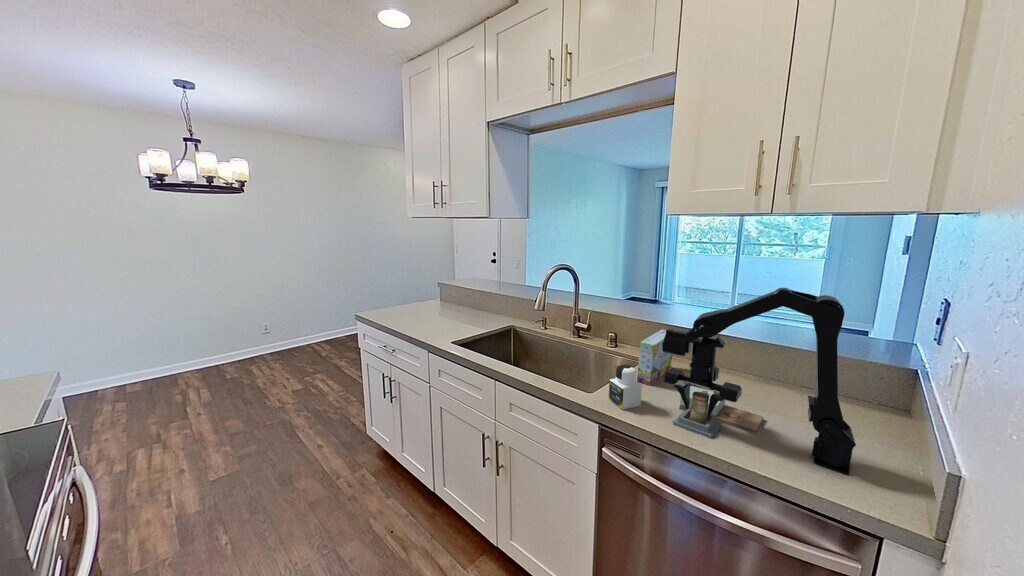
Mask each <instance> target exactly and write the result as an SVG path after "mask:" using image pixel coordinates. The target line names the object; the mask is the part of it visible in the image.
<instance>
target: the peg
mask: <svg viewBox="0 0 1024 576" xmlns="http://www.w3.org/2000/svg"><path fill="white" fill-rule="evenodd" d="M708 401H709V395H707V394H706V393H703V392H693V396H692V405H691V413H690V420H691V421H694V422H697V423H700V424H703V425H705V422H706V415H707V408H708Z"/></svg>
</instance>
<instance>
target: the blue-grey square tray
mask: <svg viewBox="0 0 1024 576" xmlns="http://www.w3.org/2000/svg"><path fill="white" fill-rule="evenodd" d="M690 413H691V409H690V408H689V409H688V410H686V411H685V410H682V412H681V413H680V414H679V415H678V416H677V417H676V419H674V420H673V422H672V425H673V426H676V427H679V428H682V429H685V430H687V431H690V432H693V433H695V434H697V435H698V434H699V435H700V434H701V435H700V436H703V437H707V438H709V439H712V438H714V436H715V434H716V433H717V431H719V428H720V427H721V426H722V423H721V422H718V421H716V417H715V416H712V415H710V417H709V416H708V414H707V415H706V422H705V425H703V424H700V423H697V422H694V421H691V420H690Z"/></svg>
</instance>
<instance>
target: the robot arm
mask: <svg viewBox="0 0 1024 576" xmlns="http://www.w3.org/2000/svg"><path fill="white" fill-rule="evenodd" d="M782 307H784V308H787V309H790V310H792V311H795V312H796V313H800V314H801V315H802V314H803V315H805V316H809V317H811V318H812V323H813V328H814V331H815V335H816V337H815V338H816V341H815V342H816V347H815V349H816V392H815V396H812V395H807V401H808V408H807V415H808V416H807V417H808V422H810V423H811V422H812V427H813V428H814V430H815V431H816V432H817V433H818V435H817V436H815V437H814V439H813V446H812V451H811V456H812V457H813V460H812V462H813V464H816V465H818V466H822V467H824V468H827V469H830V470H833V471H836V472H838V473H841V474H844V475H850V471H851V461H852V456H853V455H852V454H853V449H854V448H855V447H856V445H857V444H856V440H855V437H854V434H853V430H852V427H851V426H850V424H848V423H847V422H846V421H845V420H844V417H843V413H842V409H841V404H840V401H839V397H838V395H839V393H838V390H839V386H838V380H839V379H838V375H839V374H838V370H839V369H838V339H839V335H840V332H841V329H842V327H843V321H844V317H845V308H844V307H843V306H842V303H841V302H840V300H839V299H837V298H836V297H835V296H832V295H827V294H823V295H819V296H817V295H813V294H810V293H806V292H800V291H797V290H793V289H790V288H787V287H779V288H776V289H775V290H774V291H771V292H768V293H765V294H764V295H760V296H758V297H755V298H752V299H750V300H748V301H745V302H742V303H740V304H737V305H735V306H732V307H730V308H725V309H719V310H714V311H713V310H711V311H707V312H703V313H701V314H699V316H698V317H697V318H696V319H695V320H694V321H693V324H692V328H691V327H690V328H689V330H687V332H685V331H680V330H675V329H671V328H667V329H665V330H666V335H665V338H664V342H663V345H662V350H663V352H665V353H670V354H672V355H675V356H682V357H685V356H686V354H690V352H692V353H691V363H689V368H690V371H689V372H690V373H689V375H686V374H685V371H684V370H682V369H678V368H674V367H671V369H670V370H668V371H667V372H666V373H664V374H663V378H662V379H663V382H664V383H667V384H669V385H673V388H674V389H676V390H677V392H678V393H679V395H680V398H681V397H682V399H683V402H684V404H685V407H686V409H687V410H688V409H689V405H690V387H691V386H692V385H693V386H694V387H696V386H697V387H698V388H702V389H705V390H706V389H707V390H709V391H710V390H711V391H712V392H714V393H713V394H712V395H711V397H710V402H709V408H708V416H709V417H710V415H711V414H712V412H713V410H714V408H715V406H716V404H717V402H718V401H723V400H725V401H728V402H732V403H737V402H738V400H739V399H740V398H741V397H742V393H743V392H742V391H743V389H742V387H741V385H739V384H734V383H731V382H729V381H728V382H727V381H725V382H724V383H723V384H718V383H716V381H717V380H718V378H719V375H720V374H719V373H720V369H721V368H720V367H716V356H717V355H716V354H717V348H720V349H724V347H725V345H726V342H725V341H724V340H723V339H722V338H721V337H720V335H718V334H720V333H721V332H722V331H724V330H726V329H727V328H729V327H731V326H732V325H735V324H737V323H740V322H743V321H745V320H748V319H751V318H754V317H756V316H759V315H762V314H764V313H768V312H771V311H773V310H776V309H779V308H782ZM716 335H718V336H717V337H715V338H713V337H714V336H716ZM691 349H692V350H691ZM714 382H715V383H714Z"/></svg>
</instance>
